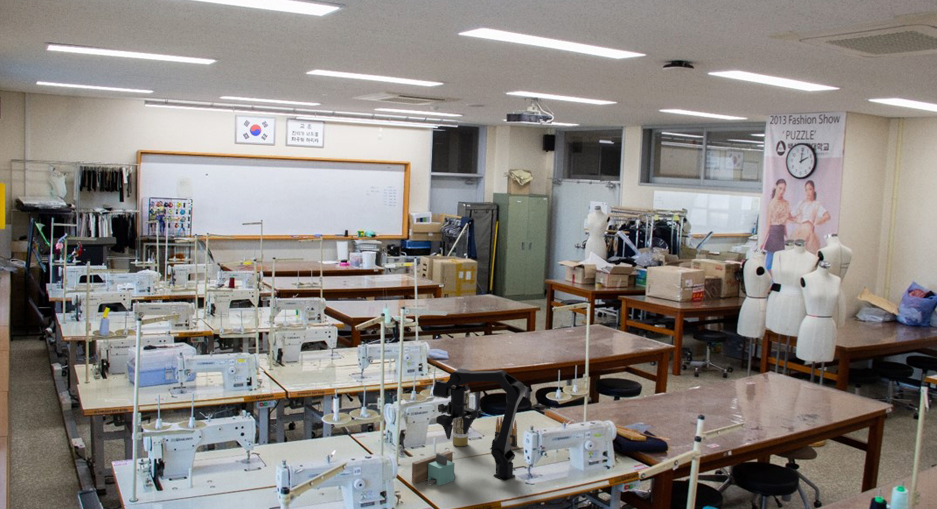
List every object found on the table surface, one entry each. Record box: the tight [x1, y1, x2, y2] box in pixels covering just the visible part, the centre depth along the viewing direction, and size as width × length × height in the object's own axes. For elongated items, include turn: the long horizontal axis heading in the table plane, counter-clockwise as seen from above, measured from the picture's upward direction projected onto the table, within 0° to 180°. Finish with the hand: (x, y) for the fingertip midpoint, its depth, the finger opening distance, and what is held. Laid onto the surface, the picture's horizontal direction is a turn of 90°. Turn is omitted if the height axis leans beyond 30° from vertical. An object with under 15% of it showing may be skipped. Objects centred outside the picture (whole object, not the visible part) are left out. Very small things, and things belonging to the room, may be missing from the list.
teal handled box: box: [427, 452, 455, 486], centre depth 314 cm, size 7×8×10 cm
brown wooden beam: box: [411, 450, 456, 486], centre depth 316 cm, size 7×20×8 cm, turn 135°
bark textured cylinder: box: [452, 390, 470, 447], centre depth 354 cm, size 7×7×25 cm
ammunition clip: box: [494, 416, 518, 448], centre depth 357 cm, size 11×2×12 cm, turn 61°
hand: (456, 436), depth 328 cm, fingers open, 9 cm apart
